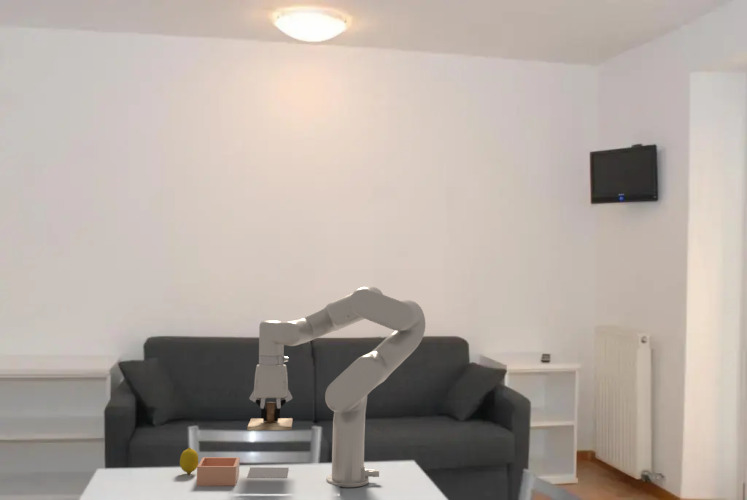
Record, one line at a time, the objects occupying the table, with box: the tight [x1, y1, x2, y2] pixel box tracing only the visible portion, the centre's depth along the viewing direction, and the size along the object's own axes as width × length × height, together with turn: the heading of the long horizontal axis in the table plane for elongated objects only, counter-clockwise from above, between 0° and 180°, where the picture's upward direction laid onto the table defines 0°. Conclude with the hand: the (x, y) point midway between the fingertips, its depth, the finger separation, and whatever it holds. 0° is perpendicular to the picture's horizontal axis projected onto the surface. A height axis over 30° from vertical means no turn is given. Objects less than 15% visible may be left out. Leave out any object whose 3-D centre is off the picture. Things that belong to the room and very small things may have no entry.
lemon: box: [179, 447, 199, 475], centre depth 242 cm, size 6×6×8 cm
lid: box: [246, 401, 294, 431], centre depth 244 cm, size 13×13×7 cm
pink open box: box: [196, 456, 241, 487], centre depth 234 cm, size 11×11×6 cm
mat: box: [246, 466, 289, 479], centre depth 244 cm, size 12×12×1 cm
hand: (270, 420), depth 244 cm, fingers closed on lid, 3 cm apart
